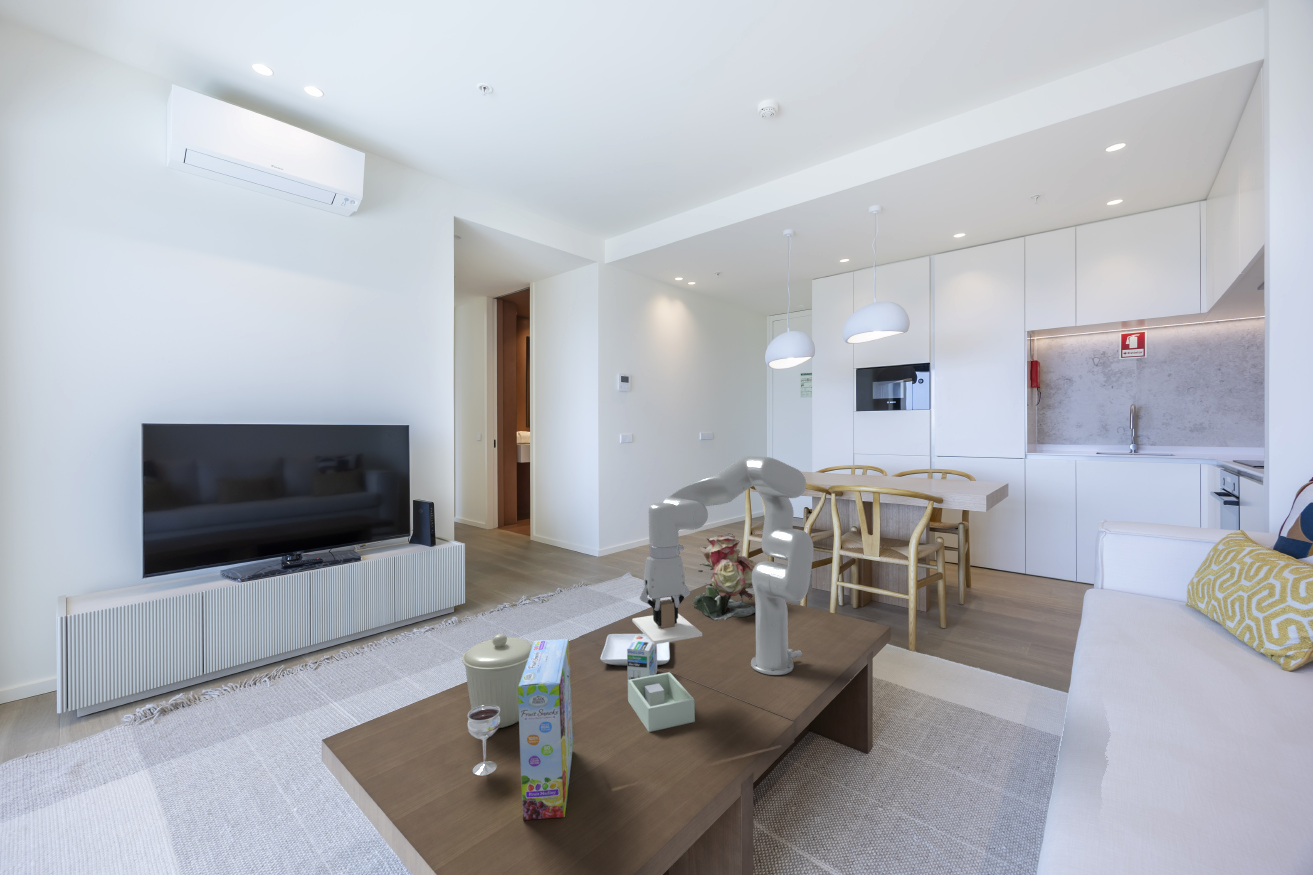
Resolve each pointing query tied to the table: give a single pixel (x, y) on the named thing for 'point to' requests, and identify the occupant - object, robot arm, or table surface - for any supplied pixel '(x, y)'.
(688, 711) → the box
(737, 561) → the rose bouquet
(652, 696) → the grey cube
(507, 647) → the canister
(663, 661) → the salad plate
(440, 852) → the table surface
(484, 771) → the wineglass
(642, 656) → the light bulb box
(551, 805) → the snack box
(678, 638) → the lid
